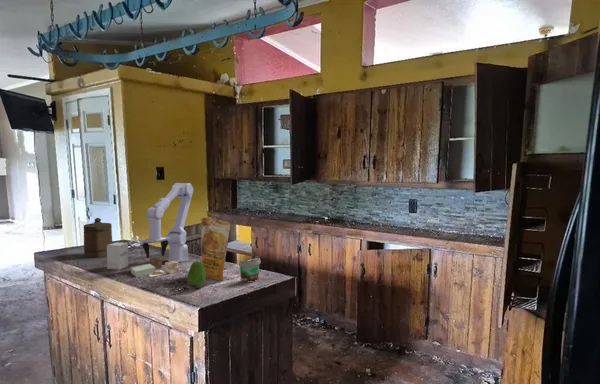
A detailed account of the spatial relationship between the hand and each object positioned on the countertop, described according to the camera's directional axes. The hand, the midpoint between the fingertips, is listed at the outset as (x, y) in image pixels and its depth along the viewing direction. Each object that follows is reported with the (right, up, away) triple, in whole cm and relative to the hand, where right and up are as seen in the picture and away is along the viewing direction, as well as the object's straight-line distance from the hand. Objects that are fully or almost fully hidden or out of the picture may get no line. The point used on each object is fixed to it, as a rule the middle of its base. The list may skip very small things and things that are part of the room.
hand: (155, 256), depth 192 cm
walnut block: (0, -6, 0) cm, 6 cm away
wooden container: (-45, -4, +28) cm, 53 cm away
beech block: (+11, -7, -6) cm, 14 cm away
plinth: (-2, -7, -9) cm, 12 cm away
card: (+4, -7, -9) cm, 12 cm away
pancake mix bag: (+33, -8, -13) cm, 37 cm away
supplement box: (-20, -6, +1) cm, 21 cm away
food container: (+53, -8, -18) cm, 56 cm away
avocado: (+30, -9, -29) cm, 43 cm away
